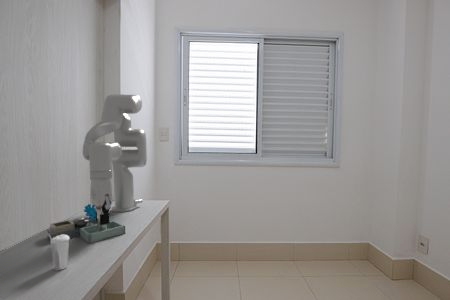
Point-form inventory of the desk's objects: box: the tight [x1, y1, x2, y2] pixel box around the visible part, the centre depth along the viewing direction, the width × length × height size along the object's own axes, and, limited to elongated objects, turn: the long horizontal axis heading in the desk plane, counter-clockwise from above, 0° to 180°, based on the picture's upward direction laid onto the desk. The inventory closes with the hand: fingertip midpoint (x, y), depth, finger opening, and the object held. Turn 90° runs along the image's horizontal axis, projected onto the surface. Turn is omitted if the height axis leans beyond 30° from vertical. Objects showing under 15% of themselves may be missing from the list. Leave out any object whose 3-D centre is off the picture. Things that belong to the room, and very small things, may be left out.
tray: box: [79, 219, 126, 244], centre depth 94 cm, size 13×10×3 cm
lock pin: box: [94, 204, 108, 232], centre depth 94 cm, size 4×4×10 cm
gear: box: [83, 203, 97, 223], centre depth 112 cm, size 11×6×10 cm
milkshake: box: [48, 233, 71, 271], centre depth 70 cm, size 4×5×10 cm
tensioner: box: [46, 217, 96, 241], centre depth 95 cm, size 14×8×6 cm, turn 137°
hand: (102, 222), depth 94 cm, fingers closed on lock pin, 3 cm apart
